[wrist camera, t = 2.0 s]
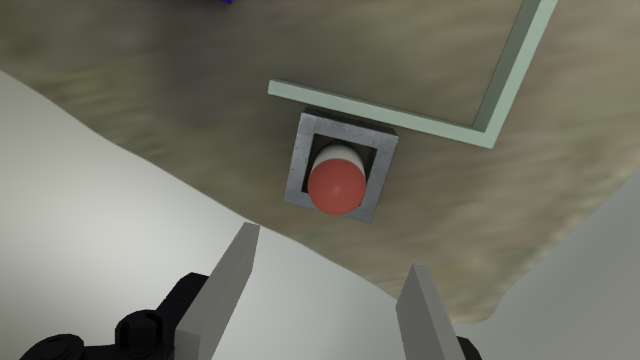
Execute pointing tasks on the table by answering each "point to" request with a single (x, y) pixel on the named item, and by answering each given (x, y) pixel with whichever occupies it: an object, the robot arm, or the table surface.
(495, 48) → the table surface
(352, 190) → the plunger
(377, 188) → the housing
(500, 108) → the bay
